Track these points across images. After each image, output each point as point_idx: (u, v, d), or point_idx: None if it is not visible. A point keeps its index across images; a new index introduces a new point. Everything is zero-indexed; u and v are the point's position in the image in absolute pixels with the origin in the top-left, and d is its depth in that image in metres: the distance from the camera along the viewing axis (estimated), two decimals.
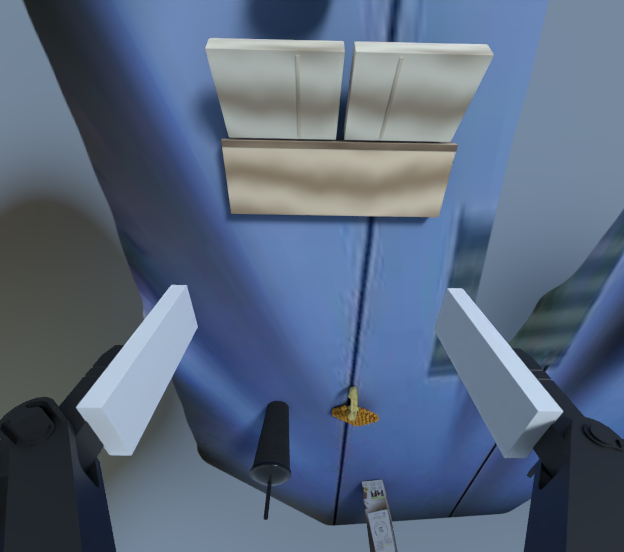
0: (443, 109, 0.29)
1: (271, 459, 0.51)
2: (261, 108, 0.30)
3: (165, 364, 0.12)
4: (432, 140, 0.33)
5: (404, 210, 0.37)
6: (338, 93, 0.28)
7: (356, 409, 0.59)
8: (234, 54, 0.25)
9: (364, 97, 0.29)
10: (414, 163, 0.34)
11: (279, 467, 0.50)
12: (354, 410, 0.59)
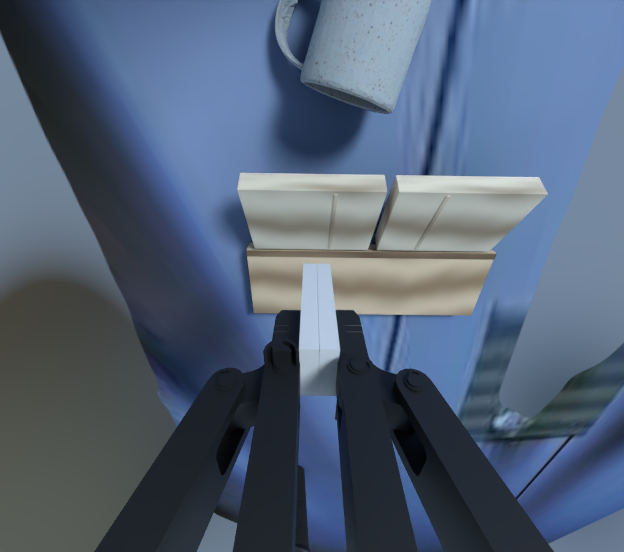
0: (485, 230, 0.28)
1: None
2: (292, 229, 0.28)
3: None
4: (470, 250, 0.31)
5: (435, 309, 0.36)
6: (375, 219, 0.26)
7: None
8: (268, 193, 0.24)
9: (403, 222, 0.27)
10: (449, 270, 0.32)
11: (298, 549, 0.48)
12: None
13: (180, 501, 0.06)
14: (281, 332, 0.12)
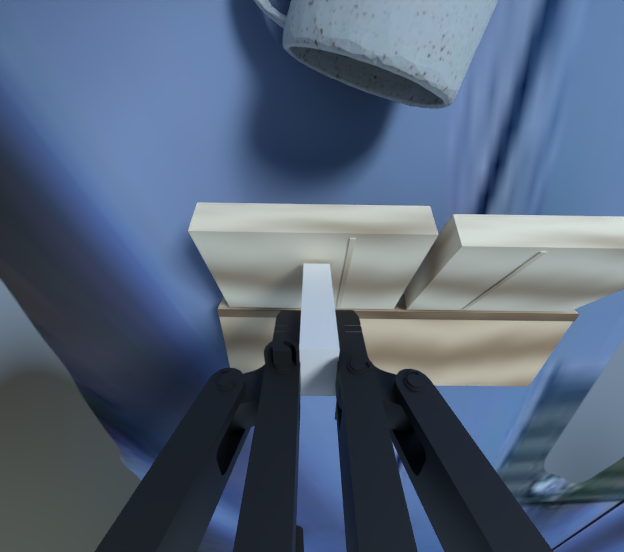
0: (579, 291, 0.18)
1: None
2: (282, 284, 0.18)
3: None
4: (542, 310, 0.21)
5: (481, 380, 0.26)
6: (411, 272, 0.17)
7: None
8: (240, 236, 0.14)
9: (455, 281, 0.17)
10: (507, 333, 0.23)
11: None
12: None
13: (180, 501, 0.06)
14: (281, 332, 0.12)
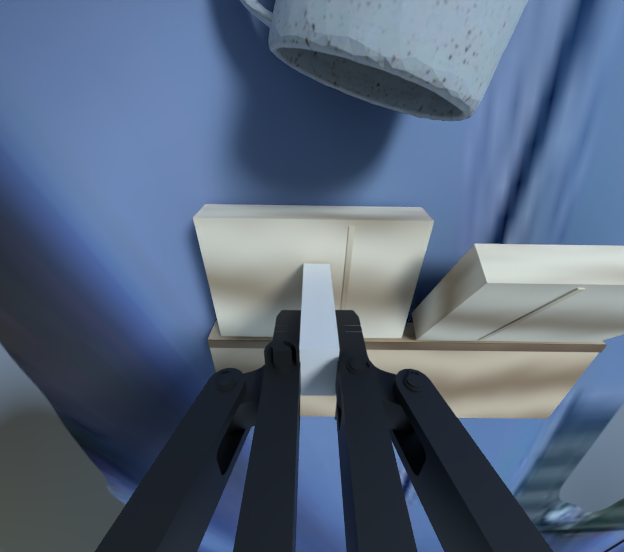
0: (612, 324, 0.16)
1: None
2: (280, 297, 0.17)
3: None
4: (565, 341, 0.19)
5: (496, 412, 0.24)
6: (414, 277, 0.17)
7: None
8: (242, 225, 0.15)
9: (473, 316, 0.15)
10: (526, 365, 0.21)
11: None
12: None
13: (180, 501, 0.06)
14: (281, 332, 0.12)
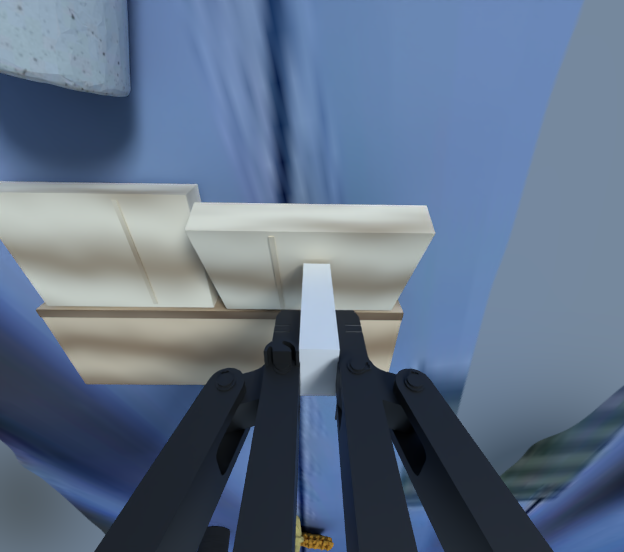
0: (368, 284, 0.18)
1: None
2: (84, 268, 0.19)
3: None
4: (363, 309, 0.21)
5: None
6: None
7: (298, 541, 0.47)
8: (15, 198, 0.16)
9: (232, 273, 0.17)
10: None
11: None
12: (295, 544, 0.47)
13: (180, 501, 0.06)
14: (281, 332, 0.12)
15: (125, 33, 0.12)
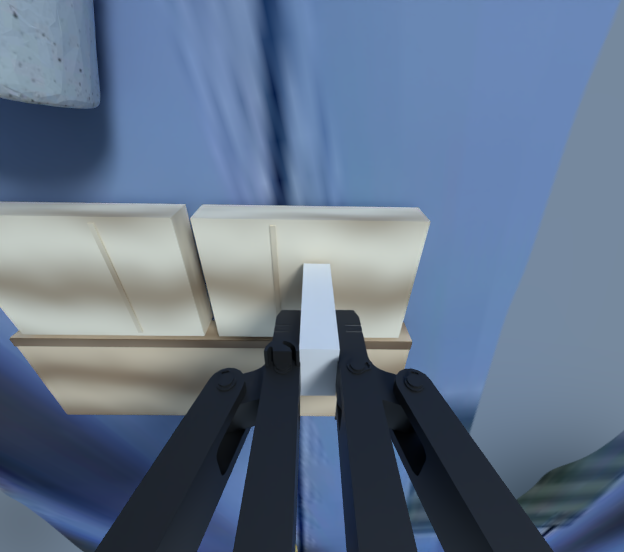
0: (370, 295, 0.17)
1: None
2: (60, 295, 0.17)
3: None
4: (367, 336, 0.19)
5: None
6: (183, 274, 0.16)
7: None
8: None
9: (230, 280, 0.17)
10: None
11: None
12: None
13: (180, 501, 0.06)
14: (281, 332, 0.12)
15: (89, 36, 0.10)
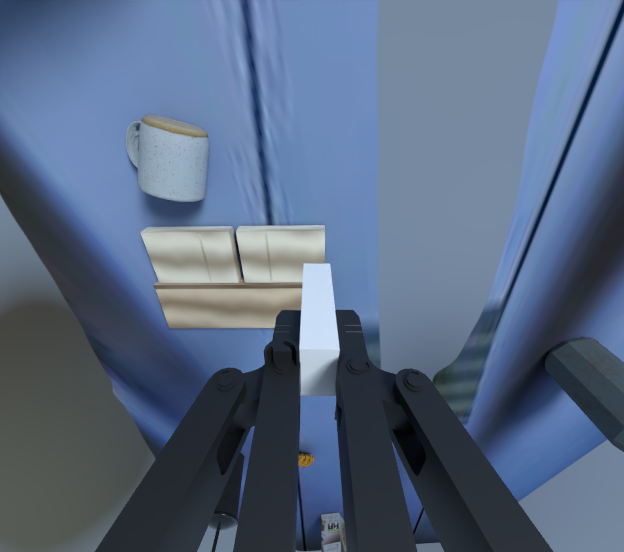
0: (308, 261, 0.42)
1: (219, 508, 0.61)
2: (180, 264, 0.42)
3: None
4: None
5: None
6: (231, 254, 0.41)
7: None
8: (159, 234, 0.39)
9: (250, 256, 0.41)
10: (301, 295, 0.45)
11: (225, 516, 0.60)
12: None
13: (180, 501, 0.06)
14: (281, 332, 0.12)
15: (206, 178, 0.35)
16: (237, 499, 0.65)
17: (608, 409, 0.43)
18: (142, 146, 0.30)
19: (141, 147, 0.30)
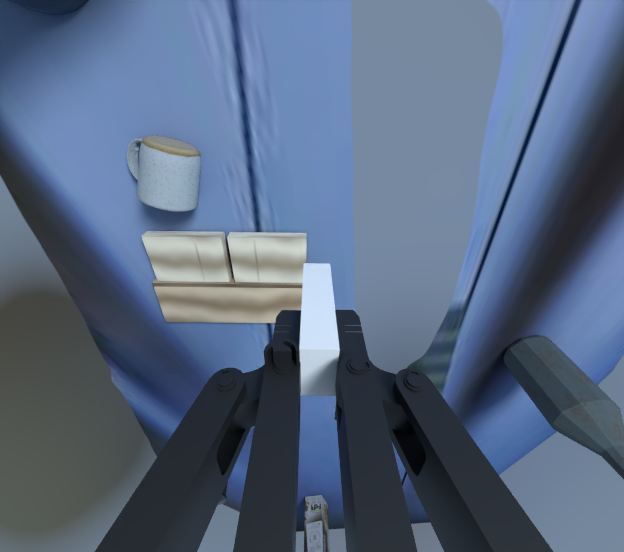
0: (291, 264, 0.47)
1: None
2: (177, 264, 0.47)
3: None
4: (293, 282, 0.49)
5: None
6: (223, 256, 0.46)
7: None
8: (158, 238, 0.44)
9: (239, 258, 0.46)
10: (285, 294, 0.50)
11: None
12: None
13: (181, 501, 0.06)
14: (281, 332, 0.12)
15: (198, 190, 0.40)
16: None
17: (549, 397, 0.49)
18: (142, 163, 0.35)
19: (141, 164, 0.35)
